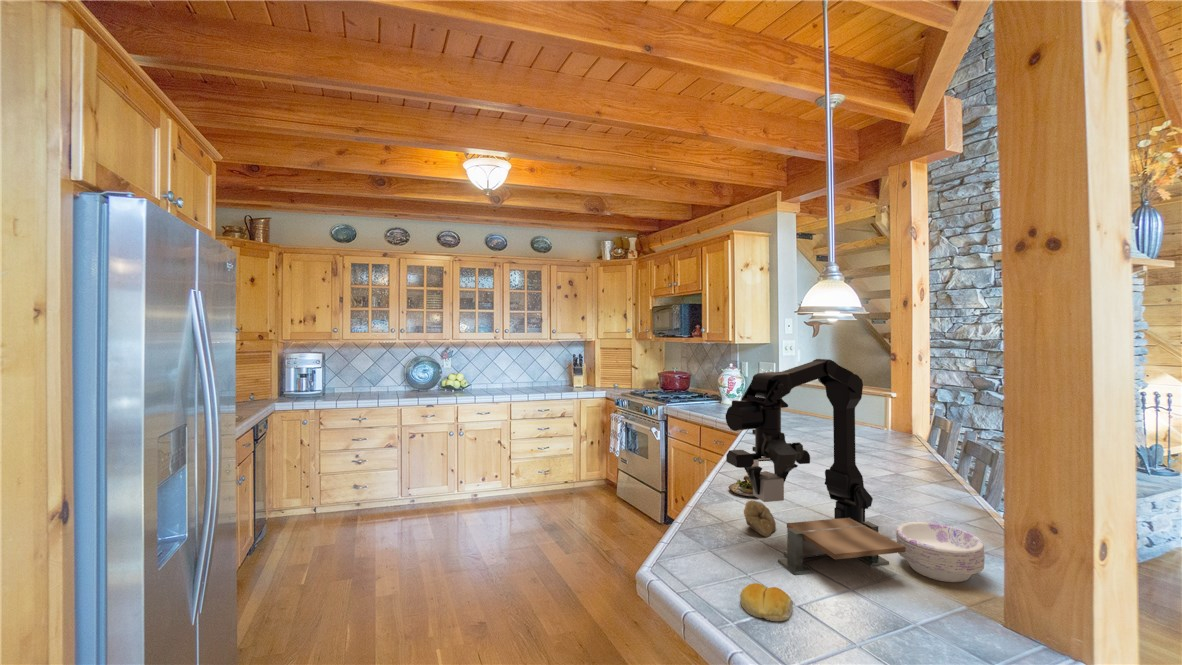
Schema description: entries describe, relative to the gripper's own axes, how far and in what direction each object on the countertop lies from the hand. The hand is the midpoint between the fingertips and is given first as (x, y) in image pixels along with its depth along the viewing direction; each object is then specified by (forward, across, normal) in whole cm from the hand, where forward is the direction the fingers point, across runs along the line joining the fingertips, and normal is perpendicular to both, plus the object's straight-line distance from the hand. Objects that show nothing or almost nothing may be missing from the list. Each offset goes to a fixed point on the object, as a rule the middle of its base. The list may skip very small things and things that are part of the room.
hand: (768, 493), depth 119 cm
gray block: (+1, 0, 0) cm, 1 cm away
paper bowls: (+13, +28, -19) cm, 36 cm away
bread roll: (+13, -15, -24) cm, 31 cm away
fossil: (+13, +3, +9) cm, 16 cm away
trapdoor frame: (+12, +9, -10) cm, 18 cm away
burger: (+13, +15, +36) cm, 41 cm away
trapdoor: (+10, +9, -14) cm, 20 cm away
